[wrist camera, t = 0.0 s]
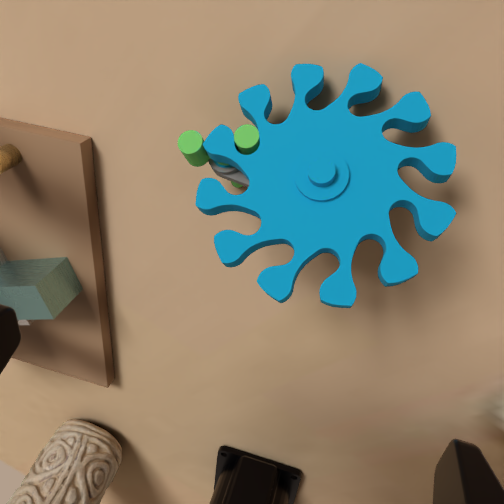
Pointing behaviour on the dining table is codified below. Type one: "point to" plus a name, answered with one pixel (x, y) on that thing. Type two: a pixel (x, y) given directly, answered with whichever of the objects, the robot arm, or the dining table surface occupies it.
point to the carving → (72, 467)
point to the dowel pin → (9, 157)
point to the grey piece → (37, 287)
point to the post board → (58, 246)
